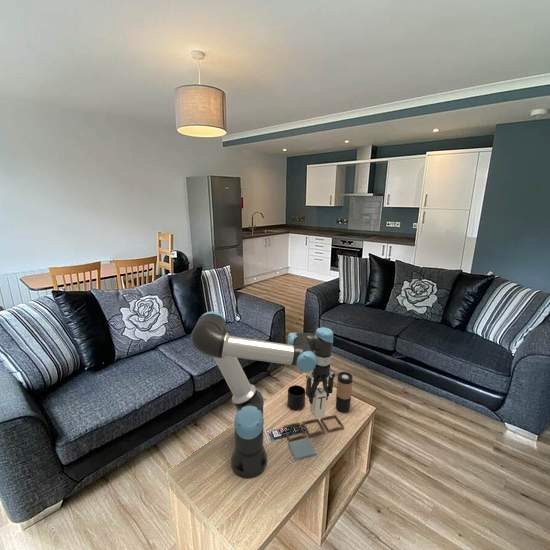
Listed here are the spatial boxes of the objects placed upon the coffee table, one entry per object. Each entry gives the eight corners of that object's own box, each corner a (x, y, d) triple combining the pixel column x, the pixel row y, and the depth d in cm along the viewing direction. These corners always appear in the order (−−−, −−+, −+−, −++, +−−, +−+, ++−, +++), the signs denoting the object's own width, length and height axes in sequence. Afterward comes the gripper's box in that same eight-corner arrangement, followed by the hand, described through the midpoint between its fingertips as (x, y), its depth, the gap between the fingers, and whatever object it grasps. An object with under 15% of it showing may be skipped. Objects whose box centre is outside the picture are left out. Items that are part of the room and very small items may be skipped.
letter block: (314, 418, 131) (316, 395, 128) (309, 410, 136) (311, 388, 133) (324, 416, 133) (326, 393, 130) (319, 408, 137) (321, 386, 134)
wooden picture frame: (288, 441, 134) (288, 438, 134) (283, 428, 142) (283, 425, 142) (305, 437, 136) (306, 435, 136) (299, 424, 144) (299, 422, 144)
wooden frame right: (328, 432, 140) (328, 430, 139) (320, 420, 148) (320, 417, 147) (343, 429, 142) (343, 426, 142) (335, 417, 150) (335, 414, 150)
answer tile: (295, 460, 124) (295, 458, 124) (288, 444, 133) (288, 442, 132) (316, 455, 127) (316, 453, 127) (308, 439, 136) (308, 437, 135)
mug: (311, 403, 160) (312, 388, 158) (296, 413, 152) (297, 398, 150) (298, 395, 167) (299, 381, 164) (283, 404, 159) (284, 390, 156)
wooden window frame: (308, 437, 137) (308, 434, 137) (302, 424, 145) (302, 421, 144) (325, 433, 139) (325, 430, 139) (317, 420, 147) (317, 418, 147)
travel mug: (334, 403, 160) (336, 371, 155) (348, 404, 160) (351, 371, 155) (336, 413, 153) (339, 379, 148) (351, 413, 152) (354, 380, 148)
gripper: (306, 369, 122) (302, 416, 127) (344, 364, 127) (339, 409, 133) (299, 360, 128) (296, 405, 134) (335, 355, 134) (330, 399, 140)
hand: (317, 407), depth 134 cm, fingers closed on letter block, 5 cm apart
